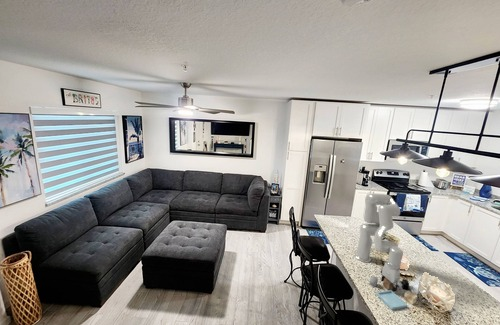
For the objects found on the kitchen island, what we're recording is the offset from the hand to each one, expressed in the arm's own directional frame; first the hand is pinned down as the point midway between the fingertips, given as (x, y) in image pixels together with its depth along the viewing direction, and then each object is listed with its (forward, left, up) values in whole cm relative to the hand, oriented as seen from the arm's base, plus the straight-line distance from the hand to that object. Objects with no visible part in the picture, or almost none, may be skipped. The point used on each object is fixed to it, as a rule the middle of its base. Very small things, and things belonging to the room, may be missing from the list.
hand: (388, 285), depth 147 cm
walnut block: (0, 0, -1) cm, 1 cm away
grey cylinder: (-4, -9, -1) cm, 10 cm away
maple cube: (+12, +5, -1) cm, 13 cm away
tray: (+10, -8, -1) cm, 13 cm away
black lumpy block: (+1, +14, -2) cm, 14 cm away
